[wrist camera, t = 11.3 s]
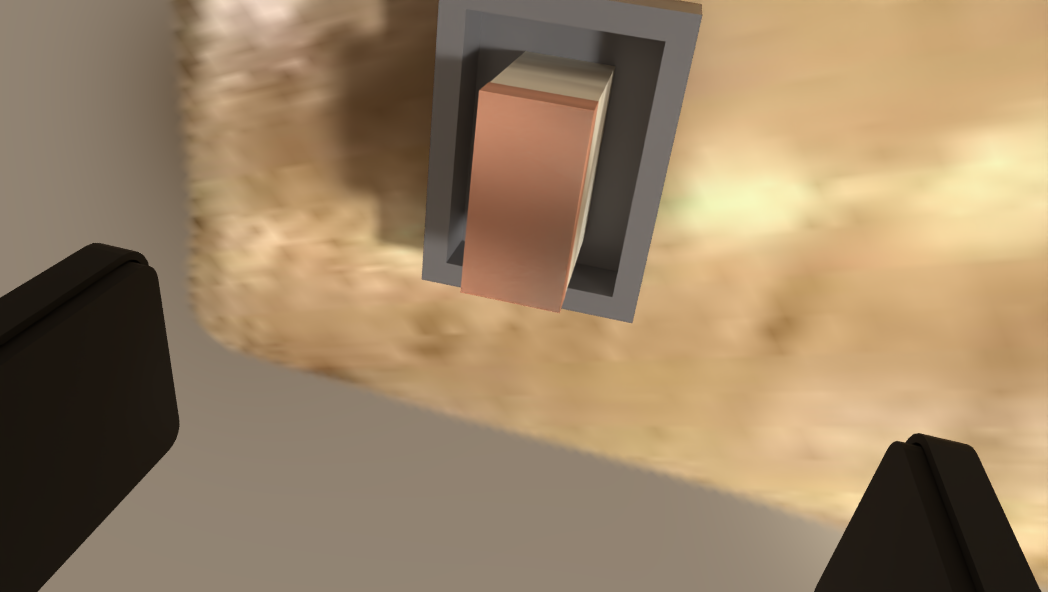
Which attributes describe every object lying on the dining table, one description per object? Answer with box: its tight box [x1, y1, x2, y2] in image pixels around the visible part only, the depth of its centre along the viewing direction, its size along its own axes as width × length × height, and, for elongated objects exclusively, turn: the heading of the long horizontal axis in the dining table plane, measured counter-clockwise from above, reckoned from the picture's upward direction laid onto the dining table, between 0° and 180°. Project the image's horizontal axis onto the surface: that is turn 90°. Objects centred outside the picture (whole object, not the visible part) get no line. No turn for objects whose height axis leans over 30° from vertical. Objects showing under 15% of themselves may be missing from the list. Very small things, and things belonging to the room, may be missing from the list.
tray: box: [422, 0, 702, 323], centre depth 29 cm, size 12×9×3 cm
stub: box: [460, 51, 615, 313], centre depth 27 cm, size 7×4×7 cm, turn 172°
